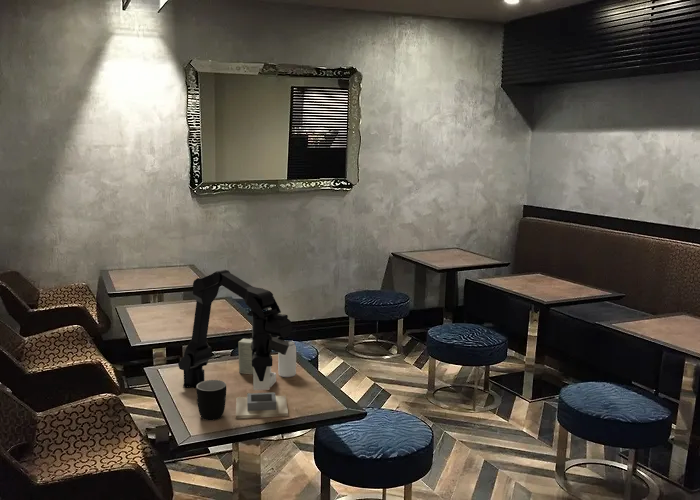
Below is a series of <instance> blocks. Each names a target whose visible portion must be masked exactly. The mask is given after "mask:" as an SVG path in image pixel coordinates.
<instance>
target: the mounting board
mask: <svg viewBox="0 0 700 500" xmlns="http://www.w3.org/2000/svg"><path fill="white" fill-rule="evenodd" d="M275 396H276V410H257V411H247V396H243V397H241V396H240V397H236V398H235V399H236V400H235V402H236V403H235V420H237V419H254V418H256V419H257V418H258V419H259V418H275V417H276V418H278V417H289V409H288V403H287V398H286V397H287V395H275Z"/></svg>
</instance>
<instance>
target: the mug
mask: <svg viewBox="0 0 700 500" xmlns="http://www.w3.org/2000/svg"><path fill="white" fill-rule="evenodd" d="M195 388H196V390H195V392H196V402H197V408H198V413H199V416H200V418H201V419H202V420H204V421H209V422H210V421H216V420H217V421H218V420H219V419H221V418H222V417H223V415H224V412H225V408H226V401H227V383H226V382H225V381H223V380H220V379H219V380H218V379H209V380H208V379H207V380H205V381H203V382H200V383H198V384H197V386H196V387H195Z"/></svg>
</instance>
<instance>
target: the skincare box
mask: <svg viewBox="0 0 700 500" xmlns="http://www.w3.org/2000/svg"><path fill="white" fill-rule="evenodd" d="M251 342H252V338H242V339H240V340H239V341H238V342H237V344H238V345H237V346H238V347H237V348H238V373H239V374H245V375H246V374H247V375H253V367H252V350H251Z"/></svg>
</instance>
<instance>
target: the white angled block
mask: <svg viewBox="0 0 700 500" xmlns="http://www.w3.org/2000/svg"><path fill="white" fill-rule="evenodd" d="M276 382H277V372H273V371H272V366H270V388H272V387H273V385H274V384H275V383H276Z"/></svg>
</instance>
